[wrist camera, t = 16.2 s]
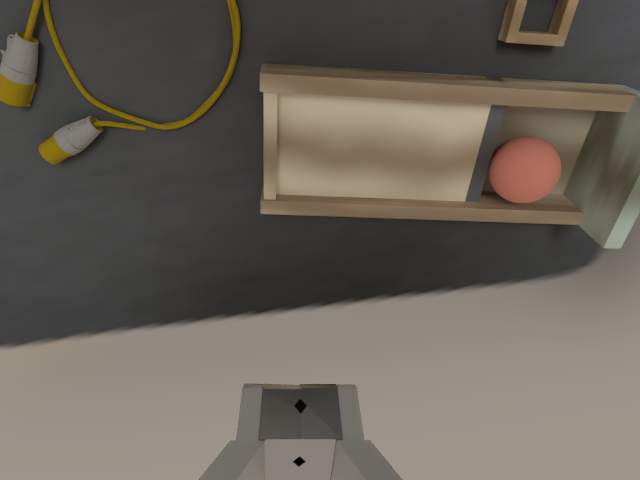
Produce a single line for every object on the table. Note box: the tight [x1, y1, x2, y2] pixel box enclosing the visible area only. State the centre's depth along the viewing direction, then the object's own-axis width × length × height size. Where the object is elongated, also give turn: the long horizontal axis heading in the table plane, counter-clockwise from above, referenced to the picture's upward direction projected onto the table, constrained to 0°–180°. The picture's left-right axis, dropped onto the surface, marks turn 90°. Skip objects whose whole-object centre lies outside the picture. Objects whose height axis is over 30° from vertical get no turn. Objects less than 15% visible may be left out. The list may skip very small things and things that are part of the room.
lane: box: [260, 63, 640, 249], centre depth 28 cm, size 9×24×6 cm, turn 86°
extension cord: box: [0, 0, 241, 164], centre depth 26 cm, size 12×16×2 cm
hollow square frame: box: [498, 0, 579, 46], centre depth 26 cm, size 4×4×1 cm
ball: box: [489, 137, 561, 203], centre depth 29 cm, size 4×4×4 cm
